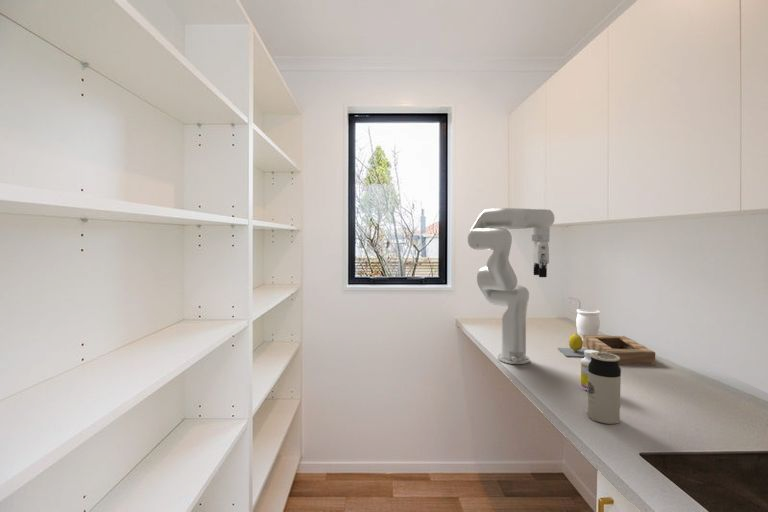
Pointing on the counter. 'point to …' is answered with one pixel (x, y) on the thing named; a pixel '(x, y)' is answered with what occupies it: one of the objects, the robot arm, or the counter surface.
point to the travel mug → (604, 388)
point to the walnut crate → (628, 355)
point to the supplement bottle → (585, 368)
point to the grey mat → (572, 352)
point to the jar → (587, 322)
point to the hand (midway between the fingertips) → (539, 276)
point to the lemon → (575, 342)
